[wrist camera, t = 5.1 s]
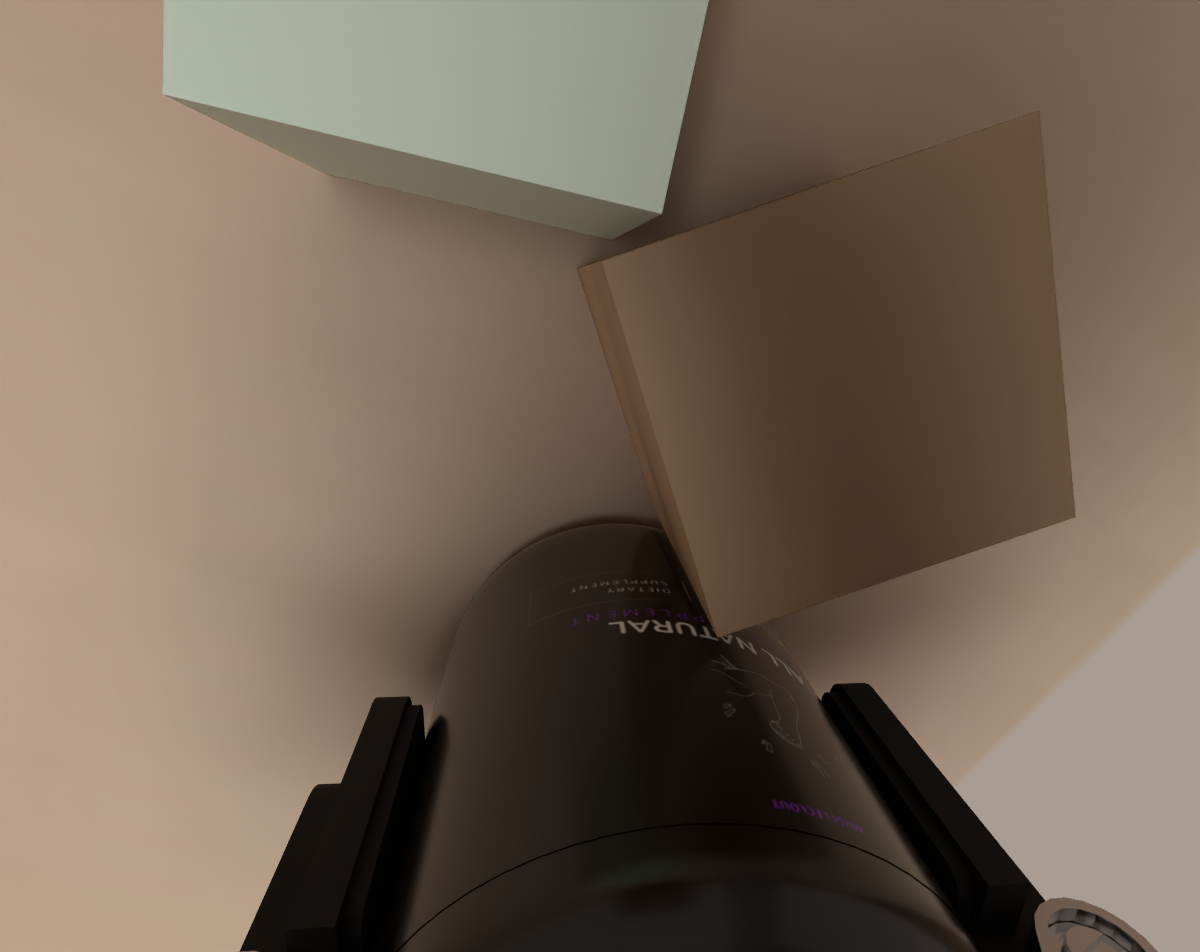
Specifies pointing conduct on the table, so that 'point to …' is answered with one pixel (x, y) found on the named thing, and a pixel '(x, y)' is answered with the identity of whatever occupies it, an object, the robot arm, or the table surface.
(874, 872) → the supplement bottle
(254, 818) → the table surface
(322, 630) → the table surface
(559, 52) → the sage cube
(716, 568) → the walnut cube
